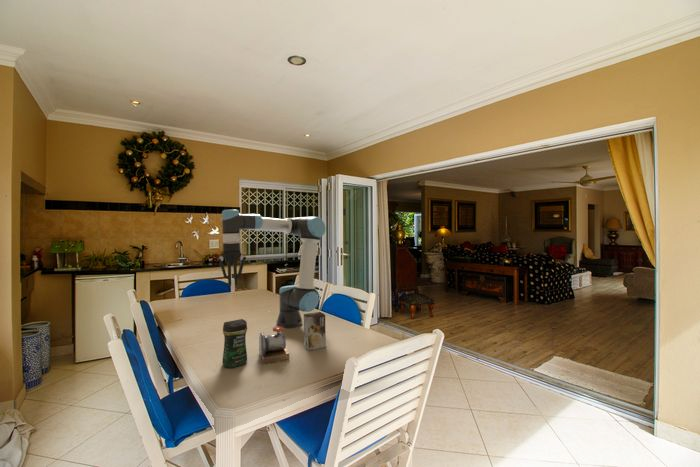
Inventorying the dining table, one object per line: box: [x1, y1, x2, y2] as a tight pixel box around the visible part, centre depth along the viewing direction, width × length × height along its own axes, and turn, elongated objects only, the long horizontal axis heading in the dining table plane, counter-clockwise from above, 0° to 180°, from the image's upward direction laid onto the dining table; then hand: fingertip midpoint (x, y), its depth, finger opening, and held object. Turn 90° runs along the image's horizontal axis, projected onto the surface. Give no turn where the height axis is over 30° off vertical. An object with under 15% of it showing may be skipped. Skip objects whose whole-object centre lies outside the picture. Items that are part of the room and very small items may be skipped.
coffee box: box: [303, 311, 327, 351], centre depth 154 cm, size 9×6×16 cm
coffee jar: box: [222, 318, 248, 369], centre depth 135 cm, size 10×8×19 cm
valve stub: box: [258, 325, 290, 365], centre depth 142 cm, size 11×12×13 cm
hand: (233, 292), depth 149 cm, fingers closed
